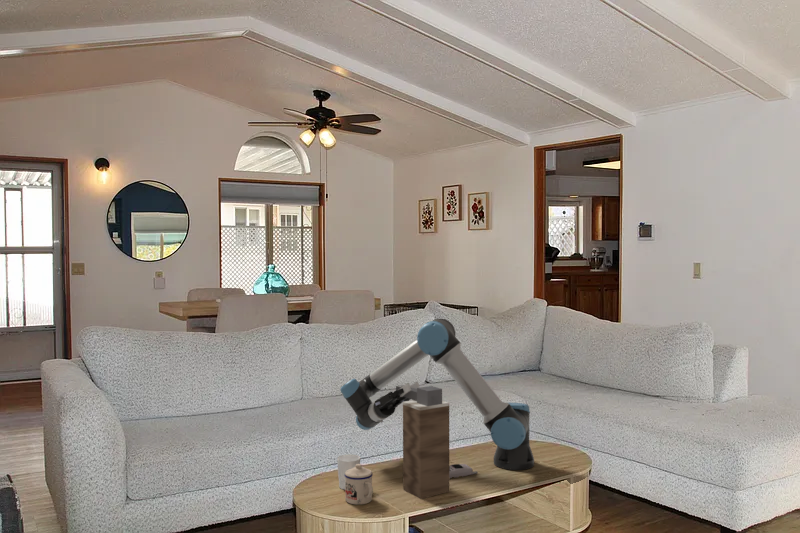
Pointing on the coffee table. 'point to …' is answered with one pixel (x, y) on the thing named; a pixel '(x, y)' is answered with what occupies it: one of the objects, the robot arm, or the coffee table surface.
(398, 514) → the coffee table surface
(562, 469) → the coffee table surface
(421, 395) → the gray block
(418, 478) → the brown wooden tall block
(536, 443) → the coffee table surface
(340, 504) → the coffee table surface
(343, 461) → the white cup
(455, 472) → the mobile phone
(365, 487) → the teacup with lid
